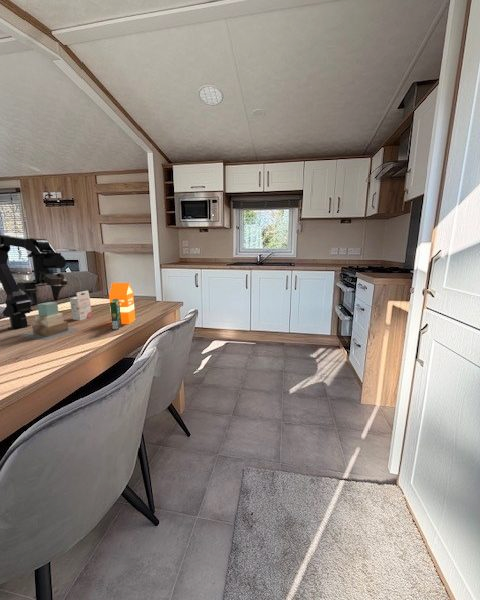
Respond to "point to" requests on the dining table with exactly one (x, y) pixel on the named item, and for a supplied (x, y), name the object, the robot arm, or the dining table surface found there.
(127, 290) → the orange juice
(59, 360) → the dining table surface
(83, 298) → the ink cartridge box
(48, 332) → the walnut slab
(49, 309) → the sage cube
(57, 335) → the slate mat
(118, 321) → the coffee box
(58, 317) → the birch block
